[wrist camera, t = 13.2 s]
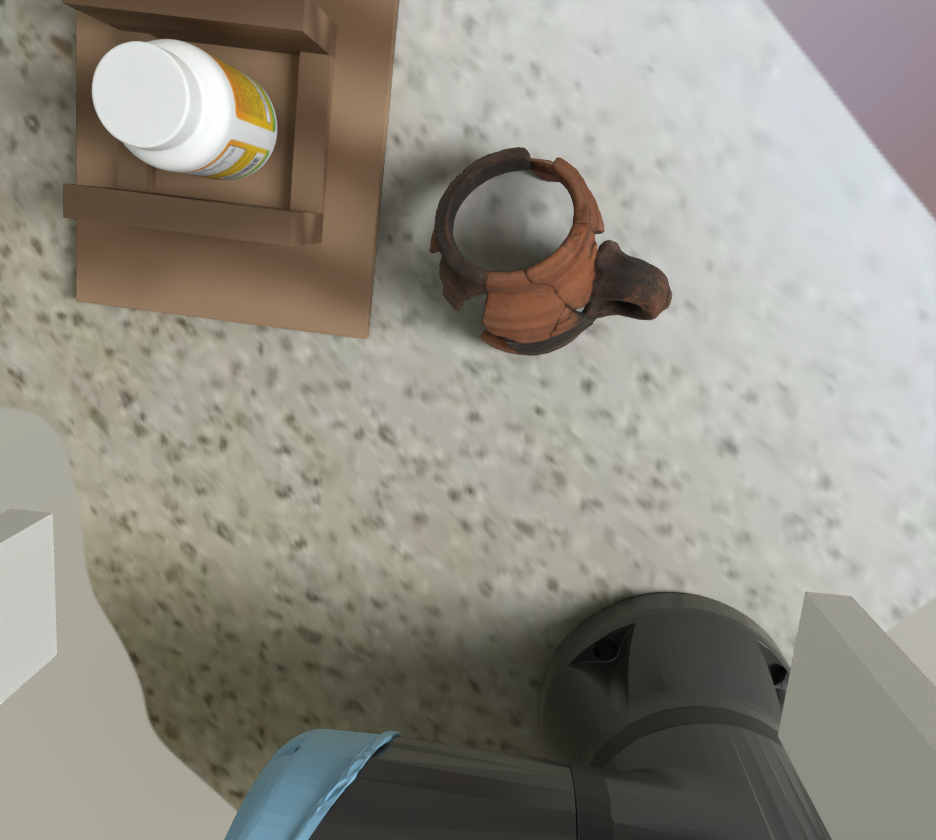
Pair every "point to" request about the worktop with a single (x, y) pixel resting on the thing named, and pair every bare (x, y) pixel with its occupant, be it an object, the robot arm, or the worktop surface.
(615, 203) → the worktop surface
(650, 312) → the pottery mug
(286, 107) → the wooden cradle tray
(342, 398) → the worktop surface
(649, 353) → the worktop surface
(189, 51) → the supplement bottle
